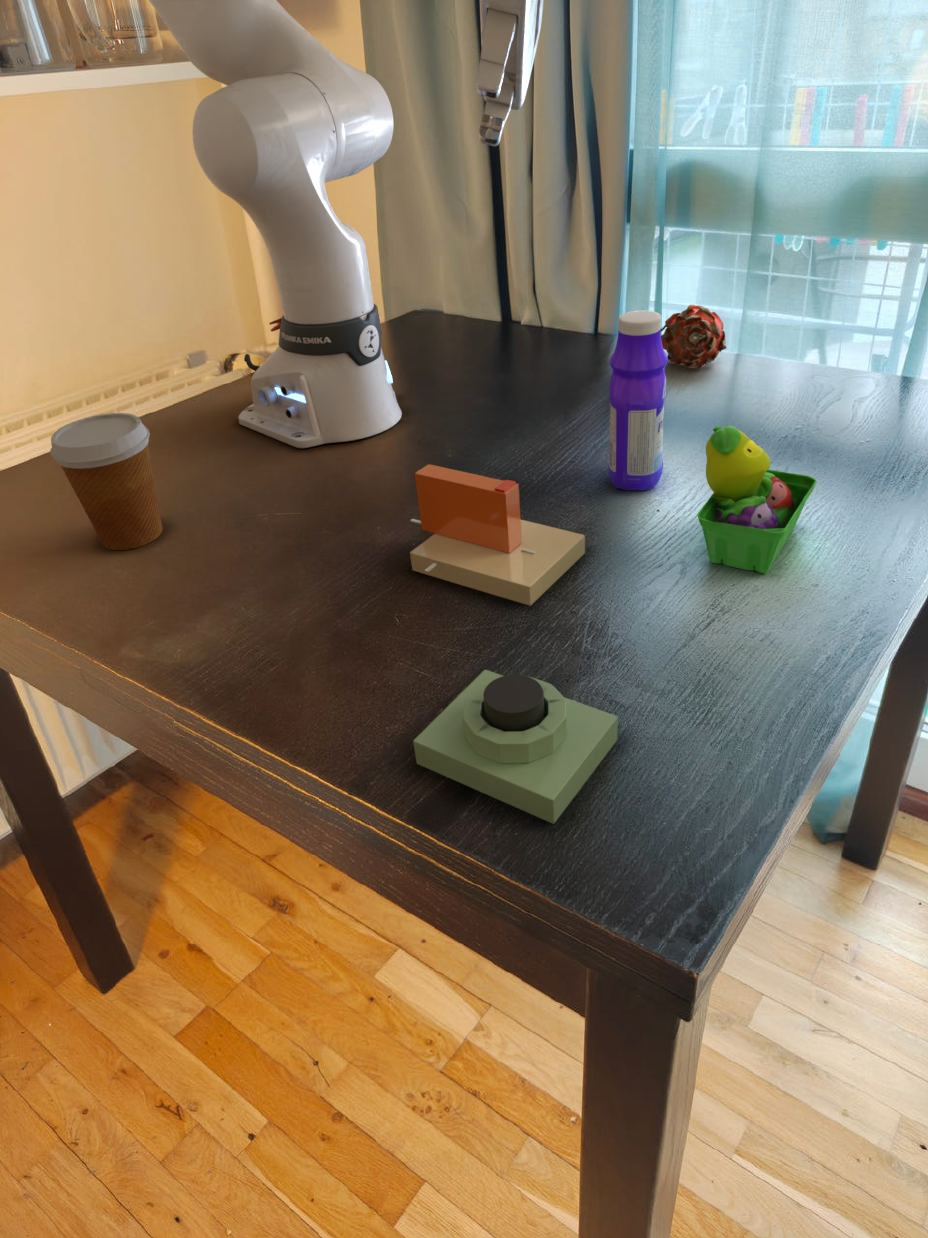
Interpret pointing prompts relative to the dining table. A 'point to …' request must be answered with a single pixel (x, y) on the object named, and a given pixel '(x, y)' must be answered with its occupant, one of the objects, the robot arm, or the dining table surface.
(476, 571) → the beige rectangular board
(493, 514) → the orange block
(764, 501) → the fruit basket
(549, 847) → the dining table surface
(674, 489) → the dining table surface
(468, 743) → the button box
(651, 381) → the bottle
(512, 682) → the button
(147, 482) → the disposable coffee cup
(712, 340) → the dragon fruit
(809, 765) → the dining table surface
